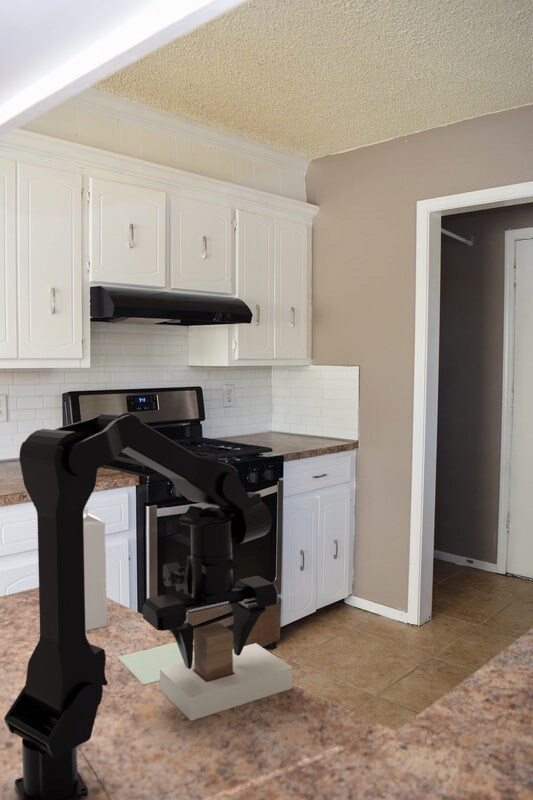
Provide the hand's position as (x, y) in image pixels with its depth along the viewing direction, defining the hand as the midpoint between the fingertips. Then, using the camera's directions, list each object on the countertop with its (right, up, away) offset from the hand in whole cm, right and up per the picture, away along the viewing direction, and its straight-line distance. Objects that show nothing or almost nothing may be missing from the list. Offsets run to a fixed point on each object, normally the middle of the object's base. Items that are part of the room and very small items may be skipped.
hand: (213, 661), depth 96 cm
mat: (-9, -5, +10) cm, 14 cm away
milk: (-25, -4, +27) cm, 37 cm away
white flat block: (+2, -5, +1) cm, 5 cm away
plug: (0, -5, 0) cm, 5 cm away
